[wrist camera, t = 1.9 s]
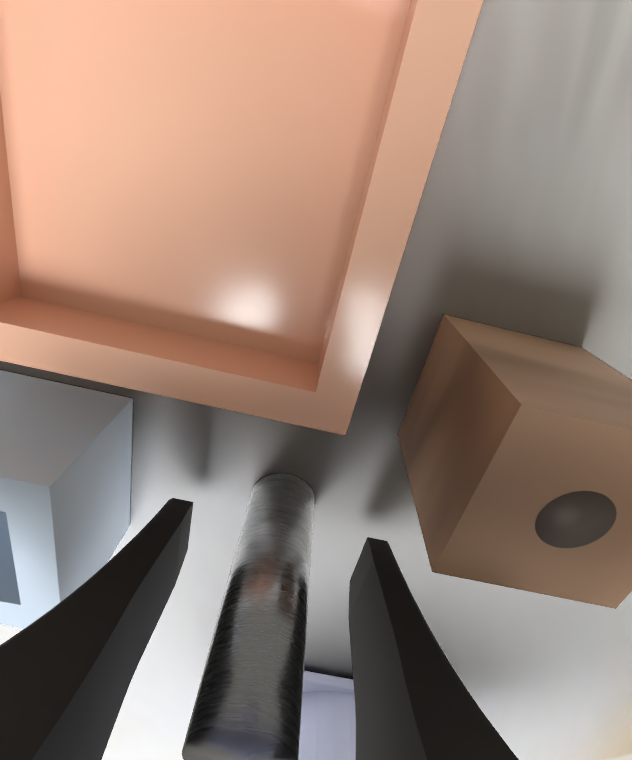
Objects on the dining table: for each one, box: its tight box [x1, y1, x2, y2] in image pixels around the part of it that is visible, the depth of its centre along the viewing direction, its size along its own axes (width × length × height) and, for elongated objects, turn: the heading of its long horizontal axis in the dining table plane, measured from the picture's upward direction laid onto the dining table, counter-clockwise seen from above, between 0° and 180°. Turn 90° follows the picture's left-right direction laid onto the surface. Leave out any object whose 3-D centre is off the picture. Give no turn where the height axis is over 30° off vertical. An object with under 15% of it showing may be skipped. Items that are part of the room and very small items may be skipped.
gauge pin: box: [182, 473, 314, 760], centre depth 11 cm, size 2×2×7 cm
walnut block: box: [397, 314, 632, 609], centre depth 10 cm, size 4×4×5 cm
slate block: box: [0, 370, 133, 629], centre depth 11 cm, size 6×6×4 cm
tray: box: [0, 0, 483, 436], centre depth 8 cm, size 10×10×2 cm
